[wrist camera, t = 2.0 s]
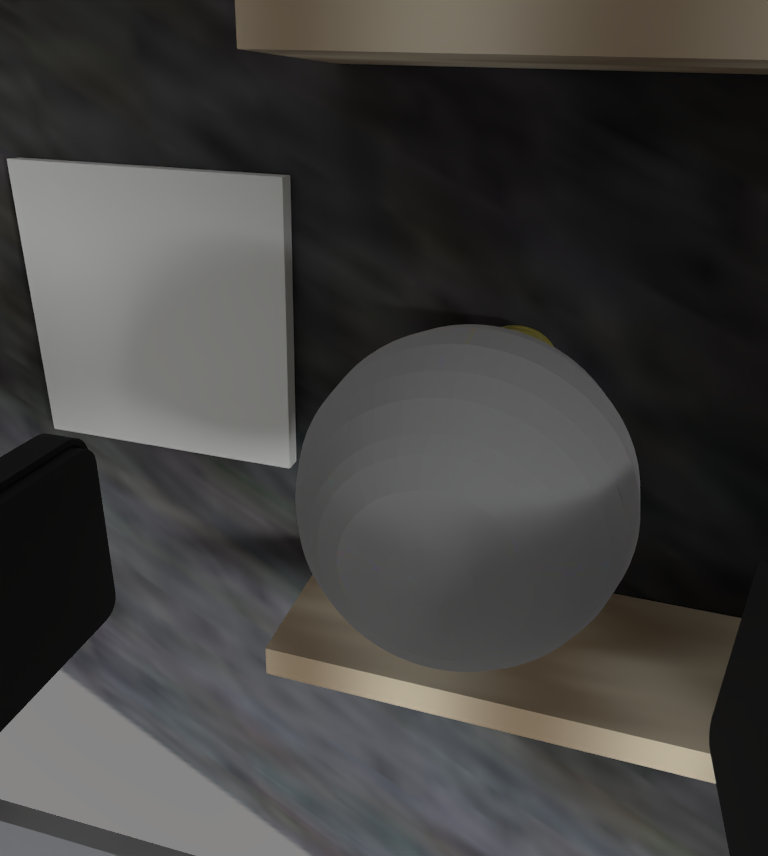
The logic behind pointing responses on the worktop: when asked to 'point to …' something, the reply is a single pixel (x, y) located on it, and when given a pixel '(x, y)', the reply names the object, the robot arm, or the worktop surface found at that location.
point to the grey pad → (163, 303)
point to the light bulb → (468, 497)
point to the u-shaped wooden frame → (622, 615)
